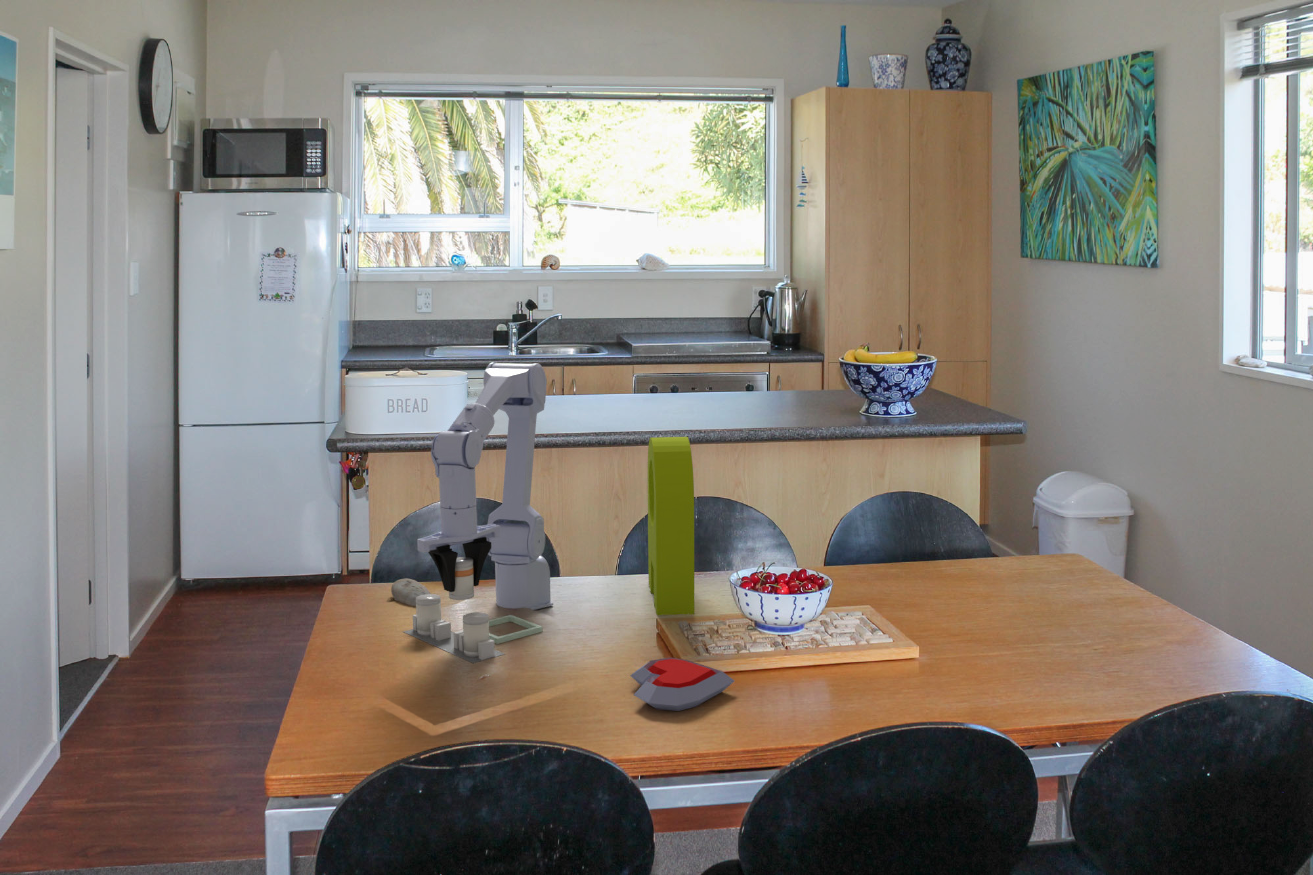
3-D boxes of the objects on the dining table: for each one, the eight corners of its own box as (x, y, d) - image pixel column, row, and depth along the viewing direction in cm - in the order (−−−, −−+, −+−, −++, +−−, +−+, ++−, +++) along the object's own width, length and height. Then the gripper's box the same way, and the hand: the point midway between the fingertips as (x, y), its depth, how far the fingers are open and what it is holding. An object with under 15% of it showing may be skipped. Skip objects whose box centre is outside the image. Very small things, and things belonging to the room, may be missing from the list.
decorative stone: (411, 617, 207) (410, 598, 206) (382, 596, 220) (381, 578, 219) (444, 611, 210) (443, 593, 210) (413, 590, 223) (412, 573, 223)
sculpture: (726, 672, 178) (628, 676, 177) (726, 649, 178) (628, 652, 177) (744, 715, 162) (635, 720, 160) (744, 689, 161) (635, 694, 160)
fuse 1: (433, 627, 197) (432, 592, 196) (446, 632, 194) (445, 597, 194) (412, 632, 195) (411, 597, 194) (425, 637, 192) (424, 602, 191)
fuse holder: (434, 629, 199) (433, 609, 199) (505, 660, 184) (504, 638, 183) (403, 637, 195) (402, 617, 195) (473, 669, 180) (472, 647, 179)
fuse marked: (465, 591, 192) (463, 555, 191) (479, 596, 189) (478, 560, 189) (443, 596, 190) (442, 560, 189) (458, 601, 187) (456, 565, 186)
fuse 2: (480, 647, 187) (479, 610, 186) (494, 653, 184) (493, 616, 183) (459, 652, 185) (457, 616, 184) (473, 659, 182) (472, 621, 181)
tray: (511, 624, 202) (510, 614, 201) (542, 636, 195) (542, 626, 195) (466, 636, 196) (466, 625, 195) (497, 649, 189) (497, 638, 189)
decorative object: (648, 583, 226) (647, 430, 221) (683, 582, 226) (682, 429, 222) (656, 615, 206) (655, 447, 202) (694, 614, 207) (693, 446, 202)
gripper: (481, 494, 195) (484, 573, 197) (405, 508, 185) (409, 591, 187) (506, 501, 190) (509, 582, 192) (429, 515, 180) (433, 600, 182)
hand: (461, 587), depth 189 cm, fingers closed on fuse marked, 4 cm apart
